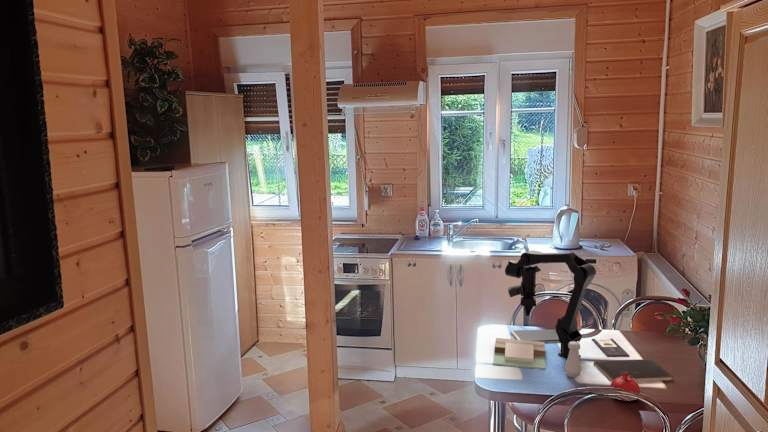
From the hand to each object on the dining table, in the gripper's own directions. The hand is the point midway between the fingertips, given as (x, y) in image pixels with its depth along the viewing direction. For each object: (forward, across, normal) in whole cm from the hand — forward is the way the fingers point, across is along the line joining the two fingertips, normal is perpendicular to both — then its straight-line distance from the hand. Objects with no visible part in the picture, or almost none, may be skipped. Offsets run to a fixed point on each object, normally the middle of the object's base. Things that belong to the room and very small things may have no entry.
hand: (527, 315), depth 253 cm
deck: (+12, +10, -3) cm, 16 cm away
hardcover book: (+13, +22, +39) cm, 47 cm away
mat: (+12, +20, -3) cm, 24 cm away
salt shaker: (+12, +30, +17) cm, 36 cm away
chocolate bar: (+13, -1, +34) cm, 36 cm away
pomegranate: (+12, +45, +33) cm, 57 cm away
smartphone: (+13, -8, +8) cm, 17 cm away
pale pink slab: (+10, +18, -3) cm, 21 cm away
